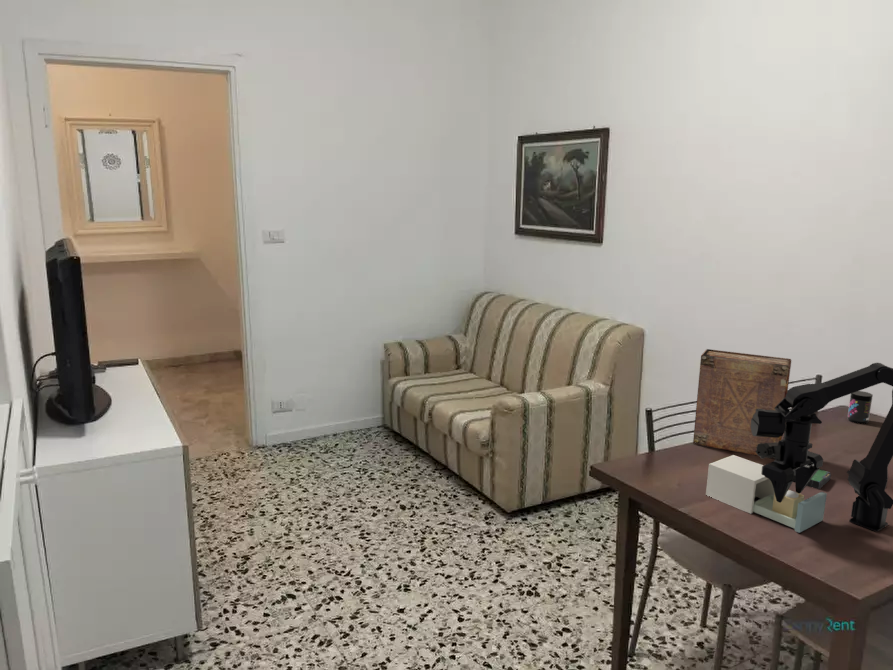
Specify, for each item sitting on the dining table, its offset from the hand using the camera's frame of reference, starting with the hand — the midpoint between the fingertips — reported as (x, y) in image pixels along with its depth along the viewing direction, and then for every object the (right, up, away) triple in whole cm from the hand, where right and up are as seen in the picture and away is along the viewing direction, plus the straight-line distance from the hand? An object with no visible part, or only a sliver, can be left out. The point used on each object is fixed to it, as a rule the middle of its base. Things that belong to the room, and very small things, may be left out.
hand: (788, 497), depth 170 cm
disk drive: (+16, -1, +27) cm, 31 cm away
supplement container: (+63, +9, +75) cm, 98 cm away
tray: (0, -5, +1) cm, 5 cm away
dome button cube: (0, -4, +1) cm, 4 cm away
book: (+7, +4, +48) cm, 49 cm away
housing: (-7, -3, +11) cm, 14 cm away
